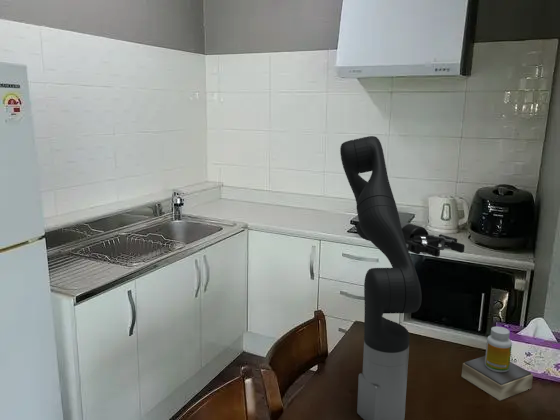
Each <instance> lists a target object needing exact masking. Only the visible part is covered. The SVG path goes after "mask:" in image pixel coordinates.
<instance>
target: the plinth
mask: <svg viewBox="0 0 560 420" xmlns="http://www.w3.org/2000/svg"><path fill="white" fill-rule="evenodd" d="M485 356H486V355H483V356H480V357H476V358H475V359H470V360H468V361H465V362H462V367H461V378H463V379H465V380H466V381H468V382H469V383H471V384H472V385H474V386H475V387H477V388H479V389H480V390H483V392H486V393H487V394H488V395H489V396H492V397H493V398H495V399H497V400H498V401H499V402H500V401H503V400H505V399H507V398H509V397H510V398H511V397H513V396H516V395H518V394H520V393H524V392H525V391H529V390H531V389H532V386H533V379H534V378H533V377H534V374H533V373H532V372H530V371H528V370H527V369H525V368H523V367H521V366H519V365H517V364H515V363H514V362H512V361H510V366H509V370H508V371H507V372H495V371H492V370H490V369H488V368H487V367H486V366H485ZM528 389H529V390H528Z"/></svg>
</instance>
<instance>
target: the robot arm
mask: <svg viewBox="0 0 560 420" xmlns="http://www.w3.org/2000/svg"><path fill="white" fill-rule="evenodd" d="M339 149H340V150H339V151H340V153H339V154H340V161H341V165H342V167H343V172H344V173H345V176H346V179H347V181H348V184H349V186H350V189H351V190H352V193H353V195H354V199H355V203H356V213H357V218H358V223H356V227H355V229H356V233H357V235H358V236H359V237H360V238H362V239H363V240H365V241H368V242H370V243H372V244H373V245H374V246H375V247H376V248H377V249H378V250H379V251H380V252H381V253H382V254H383V255H384V256H385V257H386V259H387V260H388V261H389V263H390V265H391V267H371V268H369V269H368V270H367V271H366V273H365V276H364V277H365V278H364V281H363V282H364V283H363V284H364V285H363V286H364V287H363V290H364V291H363V293H364V294H363V296H364V297H363V298H364V321H363V323H364V324H363V328H364V331H363V332H364V333H363V334H364V336H363V355H362V358H363V359H362V360H363V361H362V372H361V373H359V374H358V381H357V383H358V385H357V386H358V387H357V404H356V405H357V406H356V407H357V408H356V413H357V414H358V415H359V417H360V418H361V419H363V420H405V416H406V415H405V414H406V401H407V399H406V398H407V397H406V396H407V383H408V382H407V381H408V371H409V370H408V367H409V366H408V365H409V356H410V355H409V353H410V338H411V336H410V332H409V330H408V329H407V328H406V326H404V325H402V324H400V323H398V322H396V321H393V320H391V319H388V318H385V317H384V316H383V315H385V314H387V315H388V314H413V313H416V312H418V311H419V309H420V307H421V305H422V301H423V300H422V297H423V296H422V288H421V283H420V278H419V276H418V273H417V271H416V270H417V269H416V268H415V265H414V263H413V260H412V256H411V254H410V252H411V253H413V254H416V255H420V254H423V255H429V256H432V257H436V258H438V257H440V256H441V255H440V254H441V251H445V250H451V251H455V252H458V253H460V254H463V253H465V248H466V247H465V244H463V243H461V242H458V238H455V237H451V236H448V235H444V234H438V235H435V234H429V232H428V230H427V229H426V228H425V227H423V226H419V225H417V224H413V223H410V222H405V221H401V219H400V215H399V211H398V208H397V204H396V203H397V202H396V200H395V198H394V194H393V191H392V187H391V185H390V180H389V177H388V170H387V165H386V159H385V154H384V149H383V146H382V143H381V141H380V139H379V138H378V137H377V136H375V135H370V136H369V135H368V136H363V137H360V138H355V139H351V140H347V141H344V142H343V143H341V145H340V148H339ZM367 172H371V175H370V177H369V179H368V181H367V180H366V179H364V178H363V177H362V176H361V175H360V174H365V173H367Z"/></svg>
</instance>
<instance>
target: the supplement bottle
mask: <svg viewBox="0 0 560 420" xmlns="http://www.w3.org/2000/svg"><path fill="white" fill-rule="evenodd" d="M490 329H491V330H490V334H489V335H488V336H487V338H486V347H485V348H486V349H485V355H484V356H485V366H486V367H487V368H488V369H490V370H492V371H495V372H507V371H508V370H509V366H510V362H511V356H512V355H511V354H512V346H513V342H512V340H511V339H510V333H511V332H510V329H507V328H506V327H502V326H492V327H491V328H490Z"/></svg>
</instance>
